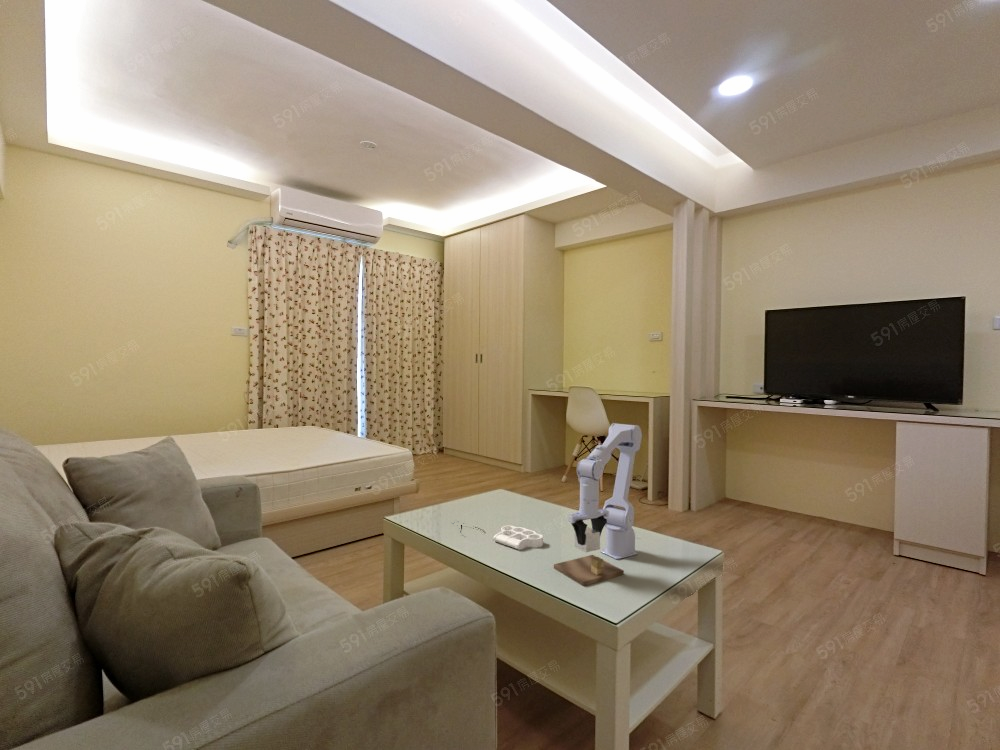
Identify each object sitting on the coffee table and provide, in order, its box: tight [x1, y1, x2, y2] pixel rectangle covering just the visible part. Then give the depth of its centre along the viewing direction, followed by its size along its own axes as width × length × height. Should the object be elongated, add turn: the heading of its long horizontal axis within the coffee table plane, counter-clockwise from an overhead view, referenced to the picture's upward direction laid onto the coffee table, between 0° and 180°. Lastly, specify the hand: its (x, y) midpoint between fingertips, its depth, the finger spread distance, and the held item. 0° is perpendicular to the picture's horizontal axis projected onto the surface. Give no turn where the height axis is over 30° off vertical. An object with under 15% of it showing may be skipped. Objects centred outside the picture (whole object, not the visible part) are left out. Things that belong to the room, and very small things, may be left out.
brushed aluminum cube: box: [574, 526, 601, 553], centre depth 146 cm, size 5×5×5 cm
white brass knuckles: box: [492, 525, 544, 551], centre depth 170 cm, size 3×18×15 cm
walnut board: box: [553, 554, 625, 587], centre depth 145 cm, size 16×14×5 cm
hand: (588, 542), depth 145 cm, fingers closed on brushed aluminum cube, 5 cm apart
